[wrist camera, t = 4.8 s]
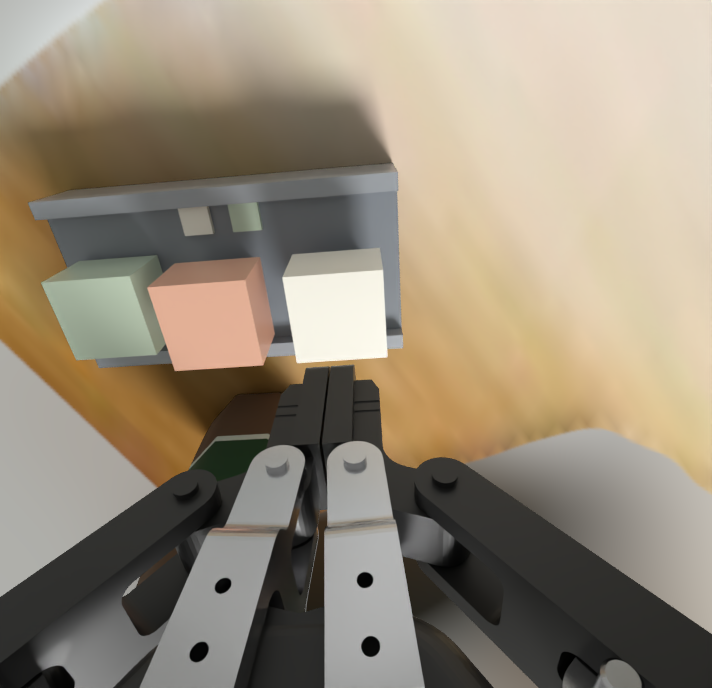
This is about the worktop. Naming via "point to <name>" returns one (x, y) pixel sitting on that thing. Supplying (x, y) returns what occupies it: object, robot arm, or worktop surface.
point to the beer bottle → (232, 443)
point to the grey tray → (237, 229)
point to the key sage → (107, 307)
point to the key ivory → (336, 305)
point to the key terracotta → (214, 313)
